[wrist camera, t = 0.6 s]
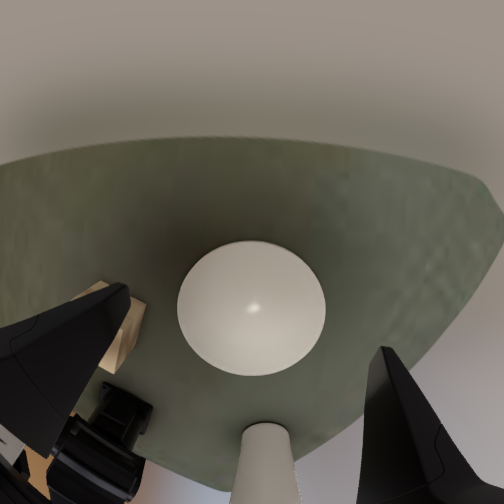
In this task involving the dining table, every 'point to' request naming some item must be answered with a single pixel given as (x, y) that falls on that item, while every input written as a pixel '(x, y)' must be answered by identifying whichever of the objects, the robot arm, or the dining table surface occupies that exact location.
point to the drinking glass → (265, 468)
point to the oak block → (120, 332)
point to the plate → (251, 308)
